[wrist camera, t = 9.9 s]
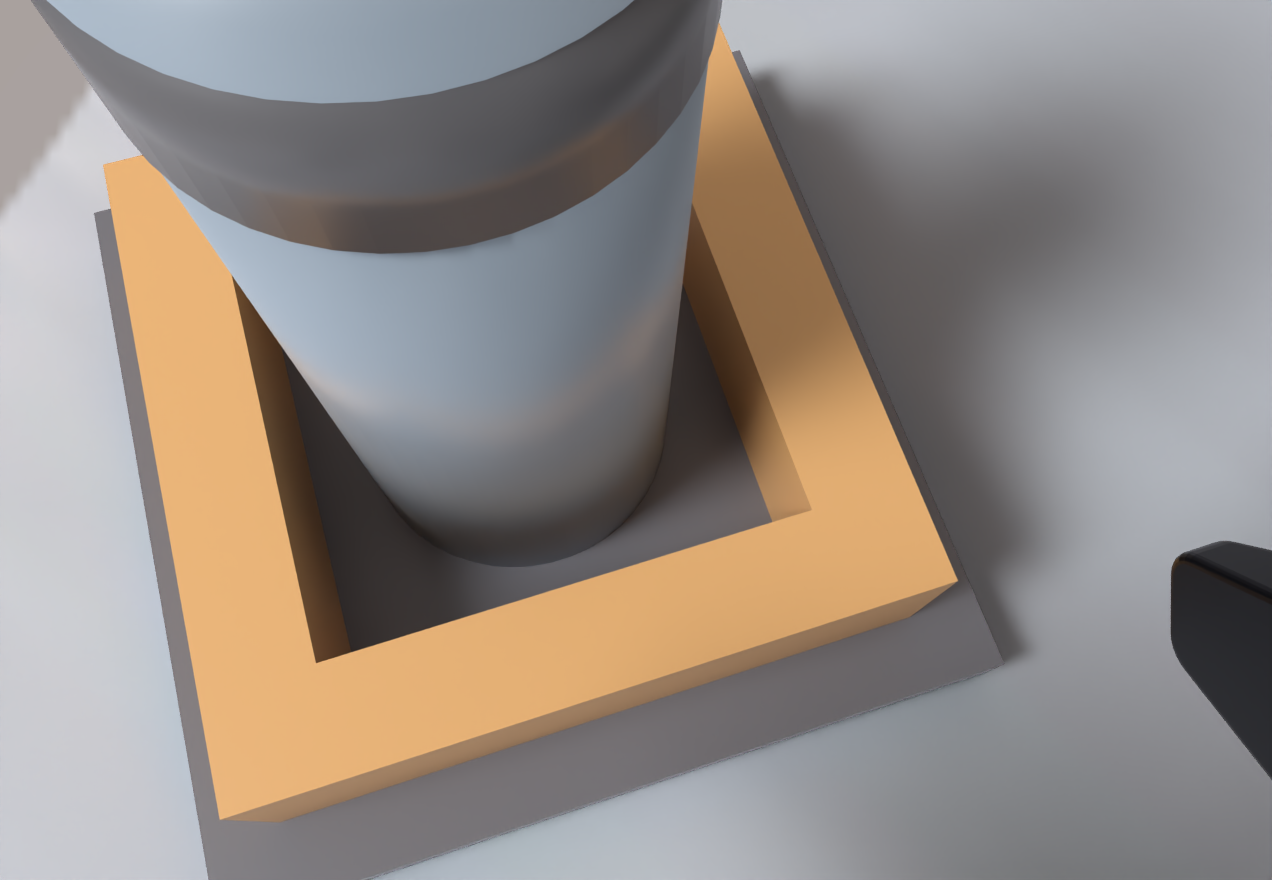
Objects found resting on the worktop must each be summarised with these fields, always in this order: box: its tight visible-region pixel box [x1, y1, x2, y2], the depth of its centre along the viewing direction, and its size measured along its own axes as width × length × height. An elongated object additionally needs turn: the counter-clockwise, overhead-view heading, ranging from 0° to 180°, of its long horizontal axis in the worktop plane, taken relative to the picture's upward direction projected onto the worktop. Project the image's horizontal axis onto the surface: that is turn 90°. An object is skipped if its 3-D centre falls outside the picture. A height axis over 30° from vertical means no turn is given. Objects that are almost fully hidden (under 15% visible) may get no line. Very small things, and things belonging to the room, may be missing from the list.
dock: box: [94, 24, 1004, 880], centre depth 17 cm, size 12×12×4 cm
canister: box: [31, 0, 722, 567], centre depth 12 cm, size 5×5×12 cm
